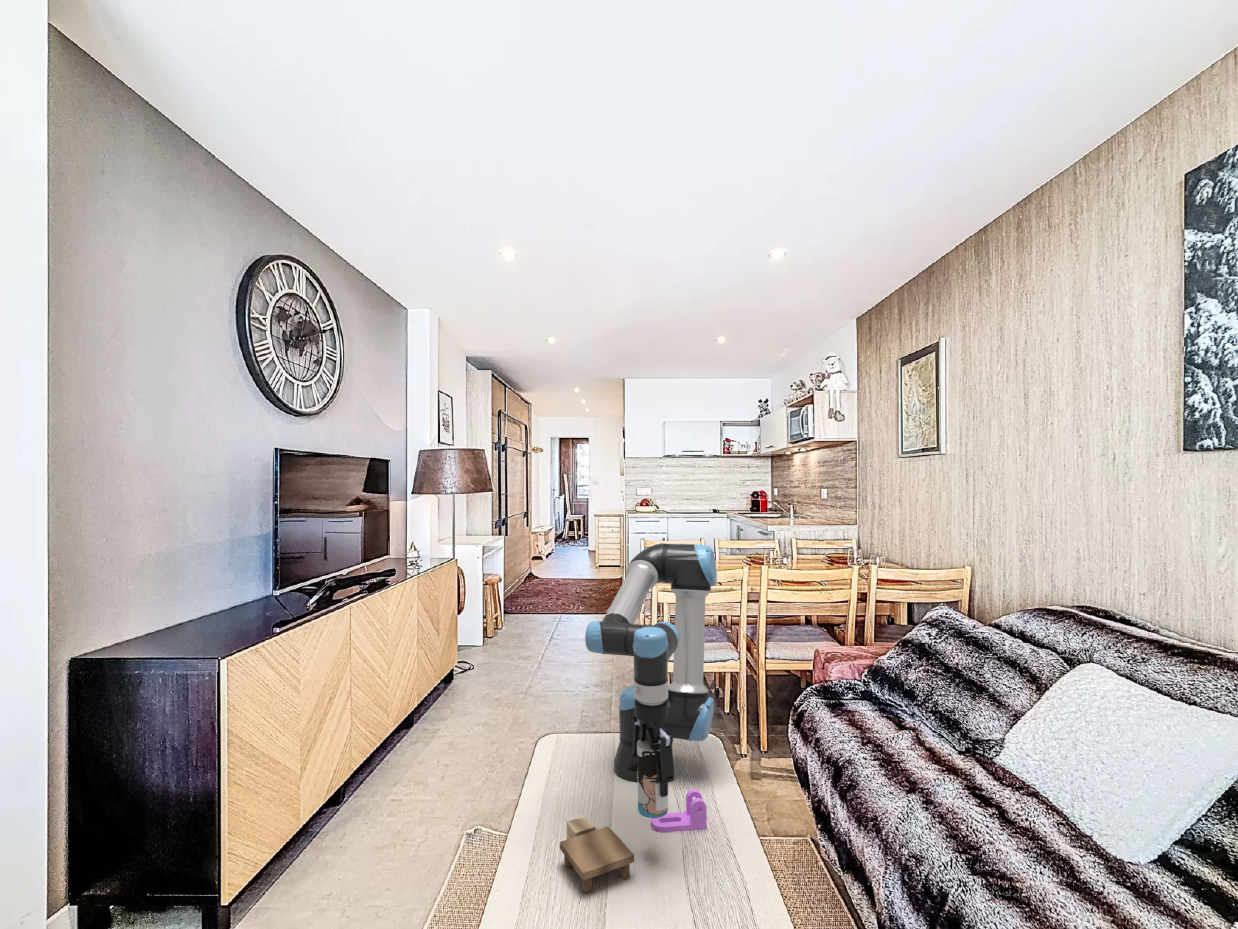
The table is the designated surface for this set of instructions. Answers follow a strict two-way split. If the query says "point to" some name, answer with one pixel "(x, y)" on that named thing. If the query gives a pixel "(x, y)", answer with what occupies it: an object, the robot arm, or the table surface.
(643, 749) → the printed can
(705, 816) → the bracket
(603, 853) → the stand
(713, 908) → the table surface
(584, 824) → the oak block
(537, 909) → the table surface
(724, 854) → the table surface
